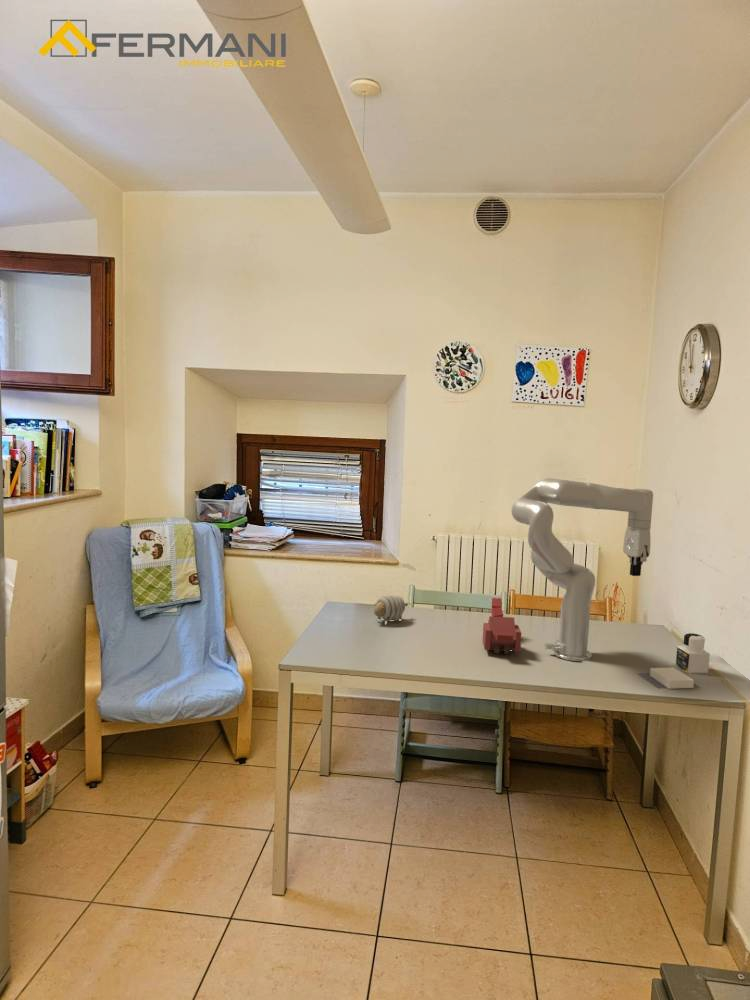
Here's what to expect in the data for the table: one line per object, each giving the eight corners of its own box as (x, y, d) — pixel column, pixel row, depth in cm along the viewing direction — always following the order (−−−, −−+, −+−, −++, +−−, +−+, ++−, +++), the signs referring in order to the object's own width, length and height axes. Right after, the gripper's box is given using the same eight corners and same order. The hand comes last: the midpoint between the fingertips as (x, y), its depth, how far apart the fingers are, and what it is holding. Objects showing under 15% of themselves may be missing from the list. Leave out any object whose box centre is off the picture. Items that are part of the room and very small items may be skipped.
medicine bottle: (675, 666, 209) (678, 631, 208) (695, 666, 209) (698, 631, 208) (687, 674, 202) (690, 638, 201) (708, 674, 202) (711, 638, 201)
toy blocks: (515, 667, 222) (510, 605, 237) (524, 641, 206) (517, 576, 222) (481, 666, 223) (477, 604, 238) (487, 640, 207) (483, 575, 222)
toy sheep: (365, 622, 245) (366, 595, 244) (395, 614, 257) (396, 588, 256) (385, 629, 238) (386, 600, 237) (414, 620, 250) (415, 593, 249)
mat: (657, 690, 188) (657, 688, 188) (635, 674, 200) (636, 672, 200) (700, 688, 190) (700, 687, 190) (676, 673, 202) (676, 671, 202)
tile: (649, 676, 198) (668, 689, 188) (650, 668, 197) (669, 680, 188) (673, 675, 199) (693, 688, 189) (673, 667, 199) (694, 679, 189)
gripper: (618, 520, 226) (614, 570, 228) (641, 527, 212) (636, 580, 214) (637, 521, 227) (633, 570, 229) (661, 527, 213) (657, 580, 215)
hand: (635, 575), depth 221 cm, fingers closed
